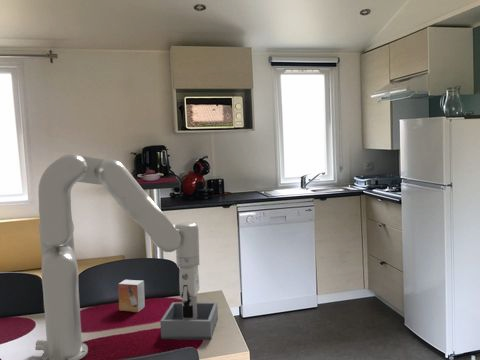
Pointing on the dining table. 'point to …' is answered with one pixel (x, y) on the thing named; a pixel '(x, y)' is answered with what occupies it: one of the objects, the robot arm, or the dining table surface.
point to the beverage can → (194, 303)
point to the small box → (131, 295)
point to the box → (189, 322)
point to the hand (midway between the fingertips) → (189, 313)
